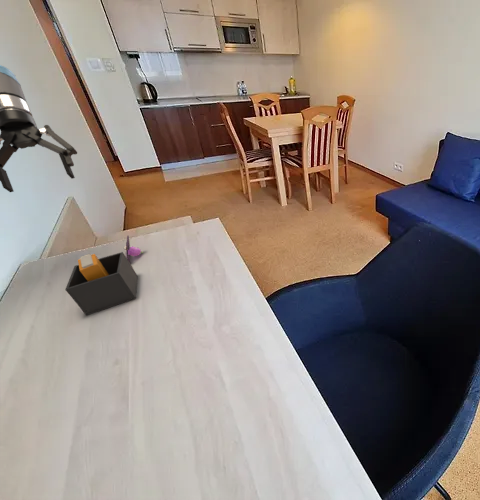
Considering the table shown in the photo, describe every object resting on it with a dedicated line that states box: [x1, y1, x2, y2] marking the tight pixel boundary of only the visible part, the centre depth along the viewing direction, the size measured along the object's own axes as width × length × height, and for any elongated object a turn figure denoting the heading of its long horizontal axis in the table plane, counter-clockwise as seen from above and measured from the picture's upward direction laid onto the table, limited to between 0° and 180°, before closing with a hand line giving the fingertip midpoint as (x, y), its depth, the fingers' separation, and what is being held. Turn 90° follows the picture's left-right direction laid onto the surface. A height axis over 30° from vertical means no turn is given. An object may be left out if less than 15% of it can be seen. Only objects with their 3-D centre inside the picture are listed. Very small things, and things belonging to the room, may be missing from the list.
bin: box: [65, 251, 138, 316], centre depth 88 cm, size 12×12×10 cm
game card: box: [123, 235, 144, 262], centre depth 106 cm, size 7×5×9 cm
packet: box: [77, 253, 109, 281], centre depth 86 cm, size 4×7×13 cm, turn 41°
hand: (41, 182), depth 83 cm, fingers open, 13 cm apart
